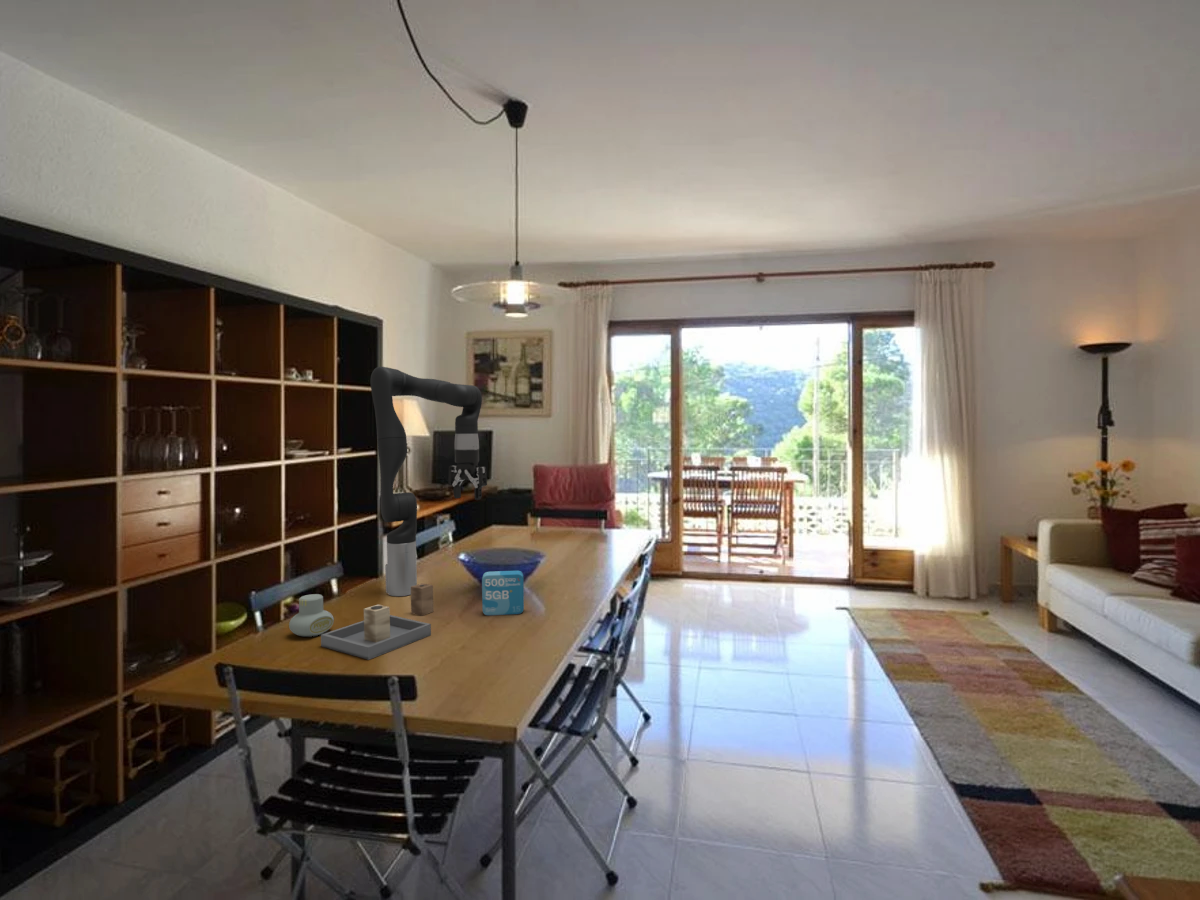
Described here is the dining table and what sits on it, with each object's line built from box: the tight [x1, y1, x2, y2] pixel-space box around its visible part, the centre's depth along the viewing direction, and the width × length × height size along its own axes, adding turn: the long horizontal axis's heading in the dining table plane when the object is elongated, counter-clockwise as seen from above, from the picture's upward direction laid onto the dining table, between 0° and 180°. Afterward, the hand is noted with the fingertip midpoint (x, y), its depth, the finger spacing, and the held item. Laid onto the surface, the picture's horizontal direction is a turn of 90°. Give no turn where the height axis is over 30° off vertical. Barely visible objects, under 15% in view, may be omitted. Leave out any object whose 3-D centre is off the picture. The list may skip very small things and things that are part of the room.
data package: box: [481, 570, 525, 617], centre depth 186 cm, size 12×4×12 cm, turn 98°
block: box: [363, 604, 391, 642], centre depth 163 cm, size 4×4×8 cm
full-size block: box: [410, 583, 434, 616], centre depth 187 cm, size 4×4×8 cm
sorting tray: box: [320, 614, 432, 661], centre depth 163 cm, size 18×20×3 cm
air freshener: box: [288, 593, 335, 638], centre depth 169 cm, size 11×8×10 cm
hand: (467, 498), depth 200 cm, fingers open, 8 cm apart
